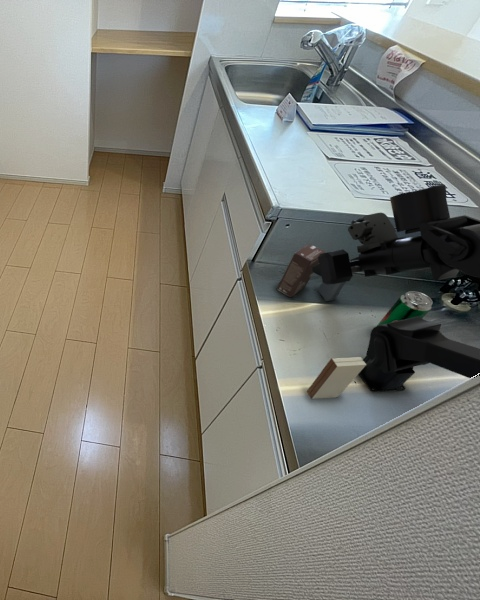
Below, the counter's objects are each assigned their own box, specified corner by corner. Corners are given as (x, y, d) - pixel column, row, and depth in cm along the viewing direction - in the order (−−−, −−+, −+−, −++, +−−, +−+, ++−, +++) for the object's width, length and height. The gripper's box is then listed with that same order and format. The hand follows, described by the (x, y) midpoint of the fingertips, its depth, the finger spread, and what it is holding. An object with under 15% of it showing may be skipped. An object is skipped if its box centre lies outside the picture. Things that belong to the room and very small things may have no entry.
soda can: (374, 343, 76) (407, 305, 67) (369, 326, 79) (399, 288, 71) (402, 348, 74) (439, 309, 66) (395, 330, 78) (429, 292, 69)
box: (292, 298, 87) (311, 261, 78) (275, 289, 89) (292, 251, 81) (306, 289, 89) (326, 251, 80) (290, 279, 92) (308, 242, 83)
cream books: (337, 397, 67) (366, 364, 60) (311, 398, 67) (336, 366, 60) (332, 389, 68) (360, 356, 61) (306, 391, 69) (331, 358, 61)
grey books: (334, 300, 85) (356, 266, 78) (325, 301, 85) (346, 266, 78) (325, 289, 88) (345, 255, 80) (317, 290, 88) (337, 256, 81)
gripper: (444, 200, 61) (363, 222, 76) (349, 218, 59) (285, 237, 74) (456, 262, 61) (372, 271, 76) (362, 282, 59) (296, 287, 74)
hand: (332, 265), depth 75 cm, fingers open, 9 cm apart
